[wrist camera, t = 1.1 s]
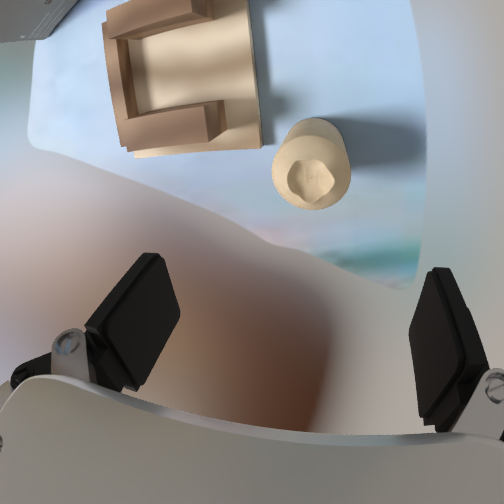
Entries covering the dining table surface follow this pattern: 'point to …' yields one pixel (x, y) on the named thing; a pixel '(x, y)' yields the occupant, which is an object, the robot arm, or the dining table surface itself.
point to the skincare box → (31, 18)
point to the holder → (182, 76)
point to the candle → (312, 165)
